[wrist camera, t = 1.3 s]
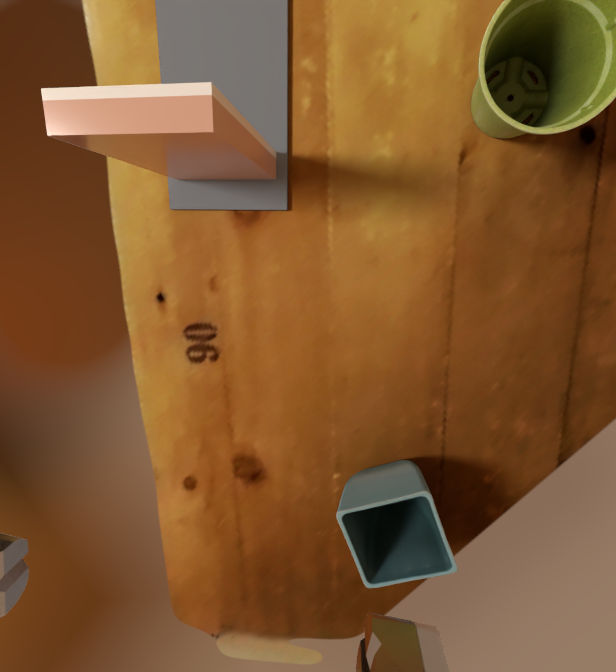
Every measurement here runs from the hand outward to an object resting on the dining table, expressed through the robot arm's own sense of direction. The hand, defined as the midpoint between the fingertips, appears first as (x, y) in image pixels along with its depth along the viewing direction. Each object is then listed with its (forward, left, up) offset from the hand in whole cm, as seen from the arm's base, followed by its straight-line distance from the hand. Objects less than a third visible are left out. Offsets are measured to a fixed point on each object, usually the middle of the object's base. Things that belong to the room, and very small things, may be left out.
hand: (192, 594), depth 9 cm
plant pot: (-25, -1, -32) cm, 40 cm away
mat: (-11, -21, -32) cm, 40 cm away
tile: (-5, -17, -31) cm, 36 cm away
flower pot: (+9, +18, -32) cm, 38 cm away
